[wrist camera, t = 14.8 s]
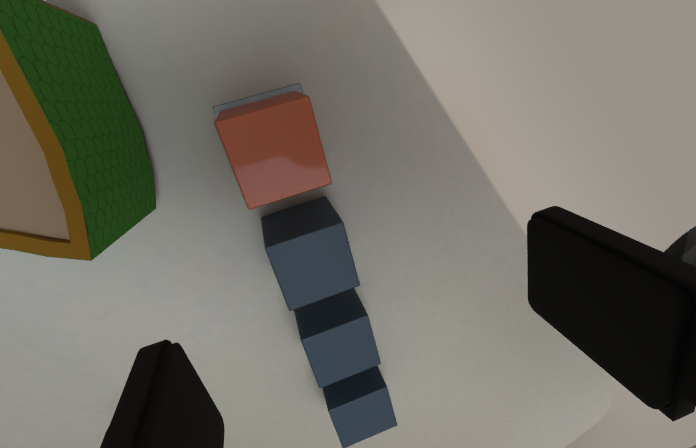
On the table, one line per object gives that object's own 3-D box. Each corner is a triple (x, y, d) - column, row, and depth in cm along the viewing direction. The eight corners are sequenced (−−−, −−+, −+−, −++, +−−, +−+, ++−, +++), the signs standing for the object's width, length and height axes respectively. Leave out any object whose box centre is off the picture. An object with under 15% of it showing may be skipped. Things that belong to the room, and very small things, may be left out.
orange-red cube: (218, 111, 21) (213, 122, 17) (295, 90, 21) (308, 95, 17) (246, 185, 23) (248, 210, 19) (316, 163, 23) (332, 183, 19)
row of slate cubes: (300, 83, 21) (313, 86, 17) (381, 380, 33) (401, 424, 29) (212, 107, 21) (206, 116, 17) (326, 402, 32) (339, 450, 28)
